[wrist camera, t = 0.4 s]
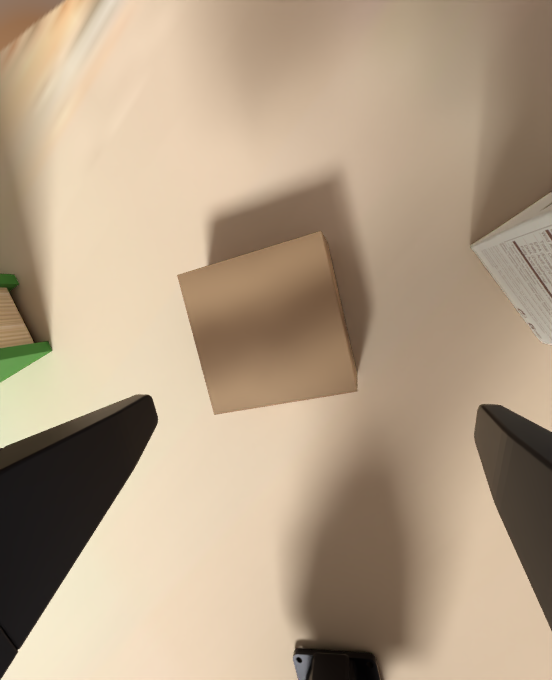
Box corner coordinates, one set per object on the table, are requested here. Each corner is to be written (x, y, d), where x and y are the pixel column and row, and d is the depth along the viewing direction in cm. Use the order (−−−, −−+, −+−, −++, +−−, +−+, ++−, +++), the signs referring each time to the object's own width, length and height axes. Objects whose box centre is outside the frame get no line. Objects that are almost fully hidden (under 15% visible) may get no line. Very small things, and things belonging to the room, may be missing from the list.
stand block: (357, 374, 21) (357, 391, 18) (237, 395, 24) (214, 414, 20) (327, 242, 21) (320, 230, 17) (207, 278, 23) (177, 275, 19)
